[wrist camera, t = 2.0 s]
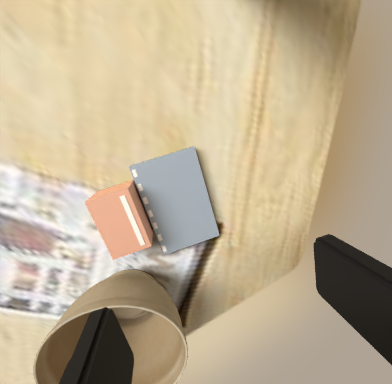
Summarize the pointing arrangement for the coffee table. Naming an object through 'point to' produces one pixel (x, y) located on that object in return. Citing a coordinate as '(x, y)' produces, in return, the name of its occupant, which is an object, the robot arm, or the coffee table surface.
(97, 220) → the peach rectangular block
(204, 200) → the board
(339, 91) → the coffee table surface
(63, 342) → the planter bowl
